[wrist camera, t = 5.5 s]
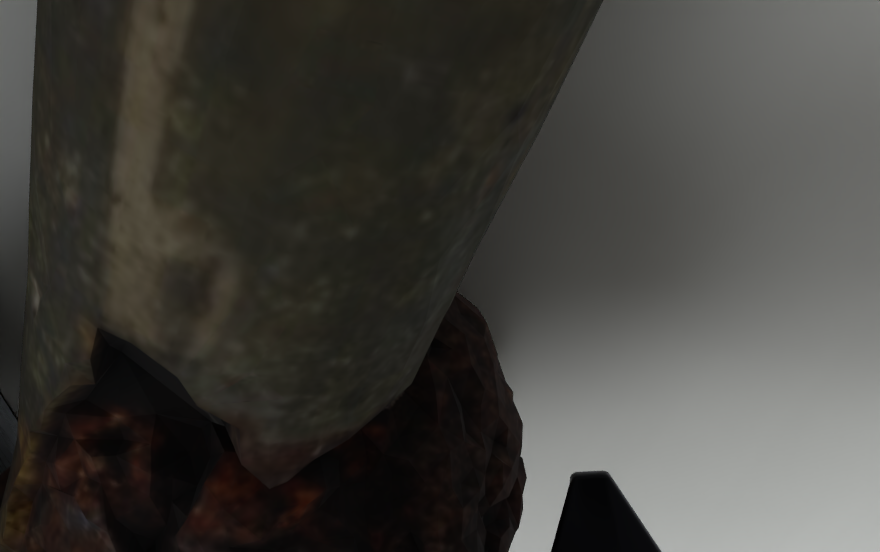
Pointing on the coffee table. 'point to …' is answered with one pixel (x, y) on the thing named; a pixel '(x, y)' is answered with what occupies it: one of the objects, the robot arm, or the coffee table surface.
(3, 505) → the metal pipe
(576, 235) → the coffee table surface
